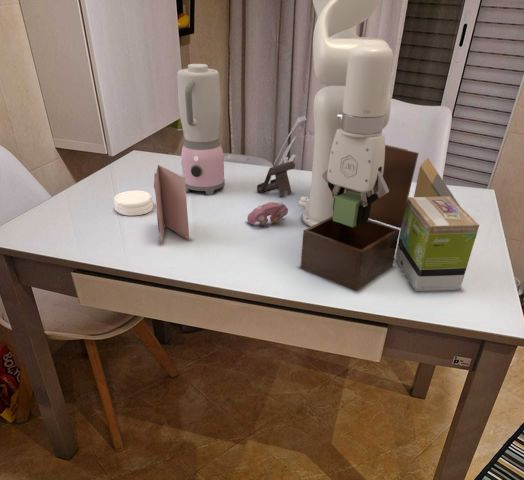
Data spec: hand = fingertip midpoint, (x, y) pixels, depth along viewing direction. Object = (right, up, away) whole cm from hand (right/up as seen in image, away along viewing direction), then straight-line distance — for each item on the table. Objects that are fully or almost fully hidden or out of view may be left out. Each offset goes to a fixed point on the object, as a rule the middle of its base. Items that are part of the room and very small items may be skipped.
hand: (349, 218), depth 101 cm
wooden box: (+1, -9, +8) cm, 12 cm away
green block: (0, 0, 0) cm, 0 cm away
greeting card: (-39, +1, +20) cm, 44 cm away
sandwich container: (+29, +6, +28) cm, 41 cm away
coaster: (-52, +11, +33) cm, 63 cm away
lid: (+6, +8, +3) cm, 11 cm away
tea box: (+18, -11, +7) cm, 22 cm away
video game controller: (-17, +6, +27) cm, 32 cm away
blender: (-36, +20, +45) cm, 61 cm away
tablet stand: (-14, +20, +45) cm, 51 cm away
